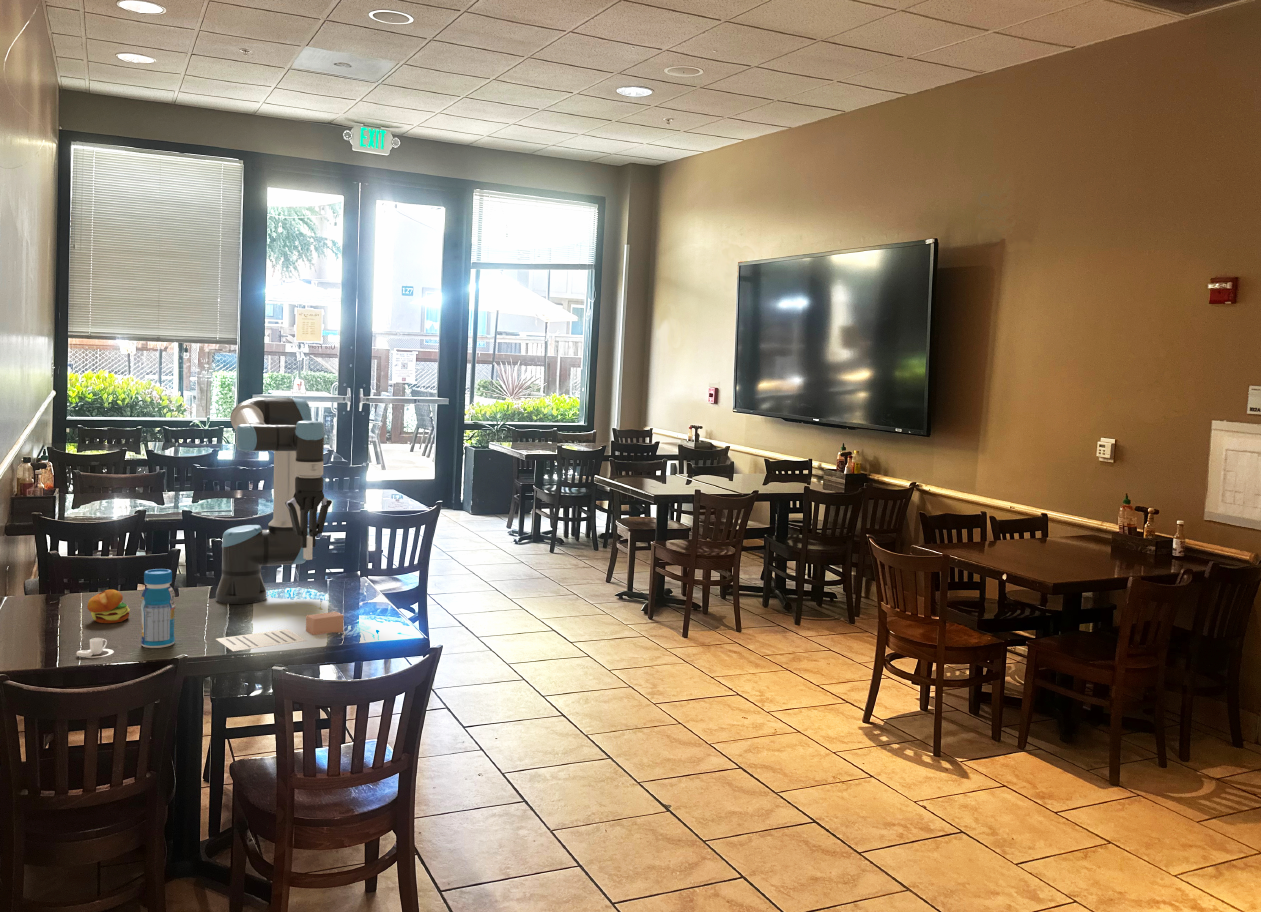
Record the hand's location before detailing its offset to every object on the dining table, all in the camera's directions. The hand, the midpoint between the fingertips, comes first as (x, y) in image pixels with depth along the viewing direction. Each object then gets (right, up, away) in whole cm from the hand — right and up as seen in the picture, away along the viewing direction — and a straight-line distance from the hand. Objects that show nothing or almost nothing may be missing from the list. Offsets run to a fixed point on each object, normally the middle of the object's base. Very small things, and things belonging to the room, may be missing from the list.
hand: (307, 558), depth 287 cm
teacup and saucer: (-50, -22, -25) cm, 60 cm away
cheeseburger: (-60, -19, +7) cm, 63 cm away
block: (0, -19, +2) cm, 19 cm away
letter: (-11, -22, -7) cm, 25 cm away
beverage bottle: (-36, -22, -15) cm, 44 cm away
